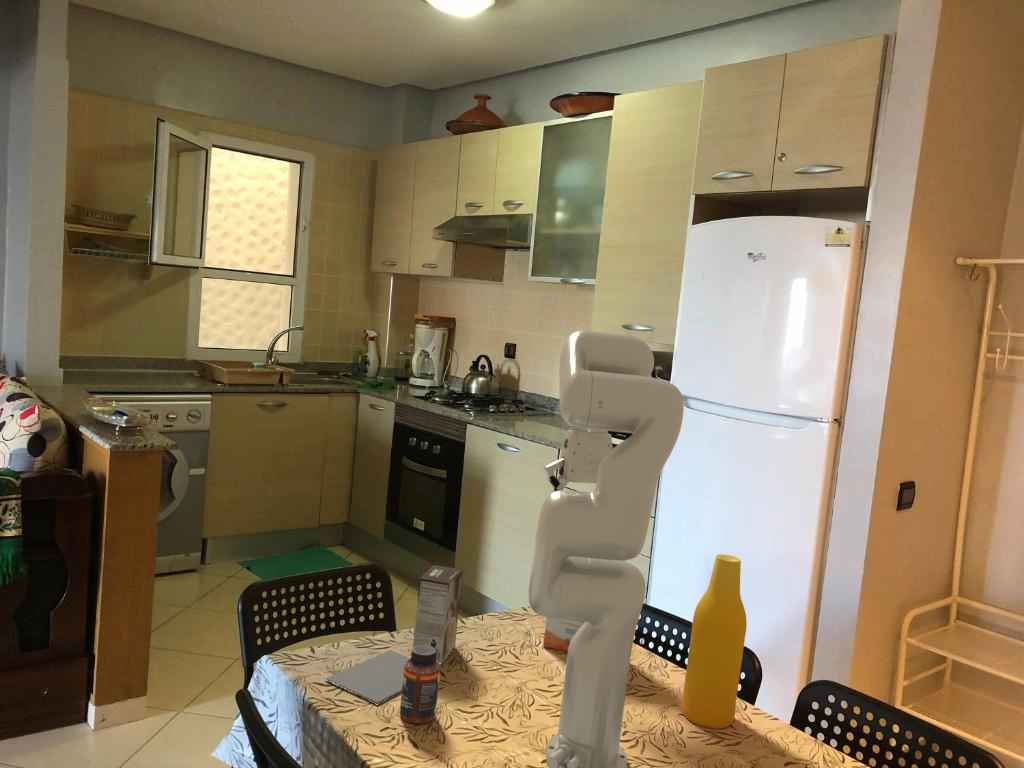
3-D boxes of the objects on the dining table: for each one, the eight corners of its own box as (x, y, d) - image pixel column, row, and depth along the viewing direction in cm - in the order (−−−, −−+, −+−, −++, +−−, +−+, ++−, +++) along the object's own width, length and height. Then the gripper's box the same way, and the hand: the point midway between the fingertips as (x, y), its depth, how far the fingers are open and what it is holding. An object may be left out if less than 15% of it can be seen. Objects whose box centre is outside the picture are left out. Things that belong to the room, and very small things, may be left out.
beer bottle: (744, 727, 138) (767, 566, 136) (700, 732, 134) (722, 567, 132) (712, 701, 146) (733, 549, 144) (670, 705, 143) (691, 549, 141)
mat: (377, 705, 131) (377, 702, 131) (325, 681, 138) (325, 678, 137) (439, 672, 146) (439, 670, 146) (390, 652, 152) (390, 649, 152)
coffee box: (425, 641, 159) (433, 563, 158) (455, 647, 158) (464, 569, 156) (410, 659, 150) (419, 577, 149) (442, 665, 149) (451, 583, 147)
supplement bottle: (442, 715, 130) (450, 649, 129) (421, 729, 125) (428, 661, 124) (414, 703, 133) (421, 638, 132) (391, 716, 128) (398, 649, 127)
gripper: (558, 426, 152) (548, 513, 153) (636, 431, 158) (625, 514, 160) (543, 420, 159) (533, 503, 160) (618, 424, 165) (608, 504, 167)
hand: (579, 508), depth 160 cm, fingers open, 9 cm apart
